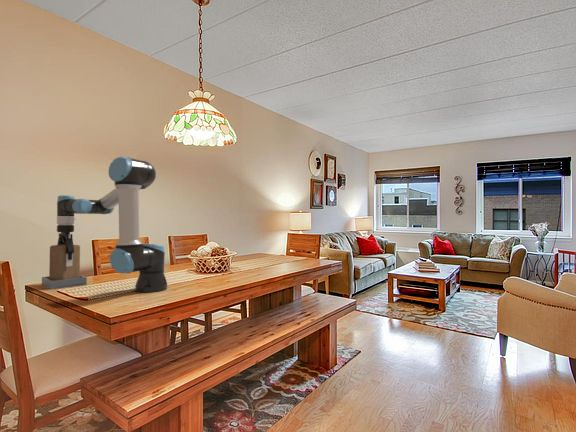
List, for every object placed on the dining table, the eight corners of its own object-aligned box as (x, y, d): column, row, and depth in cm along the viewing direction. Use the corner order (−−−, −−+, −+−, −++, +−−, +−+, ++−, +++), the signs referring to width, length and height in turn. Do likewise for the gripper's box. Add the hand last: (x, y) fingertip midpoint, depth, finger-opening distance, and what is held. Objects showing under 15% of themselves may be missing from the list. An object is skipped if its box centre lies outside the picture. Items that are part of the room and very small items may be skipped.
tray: (86, 284, 174) (86, 277, 174) (50, 289, 162) (50, 281, 162) (76, 280, 185) (76, 273, 185) (41, 284, 172) (41, 277, 172)
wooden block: (62, 285, 167) (63, 246, 167) (48, 284, 170) (48, 245, 170) (80, 282, 176) (81, 244, 176) (66, 280, 179) (67, 244, 179)
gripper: (81, 225, 168) (81, 266, 168) (66, 224, 184) (65, 261, 184) (64, 225, 162) (64, 268, 162) (50, 224, 179) (49, 263, 179)
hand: (64, 264), depth 173 cm, fingers open, 13 cm apart
